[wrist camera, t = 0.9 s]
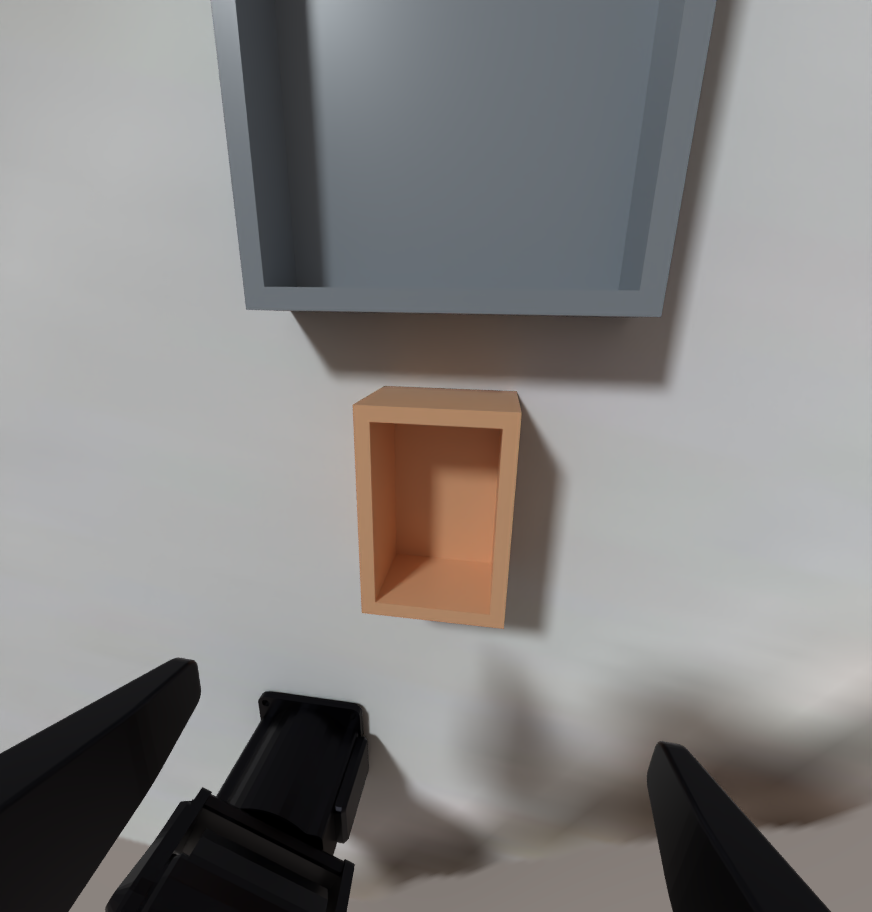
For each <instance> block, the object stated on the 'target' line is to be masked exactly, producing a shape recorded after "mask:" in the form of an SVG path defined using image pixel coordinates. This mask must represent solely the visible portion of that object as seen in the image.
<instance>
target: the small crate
mask: <svg viewBox="0 0 872 912" xmlns="http://www.w3.org/2000/svg"><path fill="white" fill-rule="evenodd" d="M521 414H522V412H521V408H520V404H519V400H518V395H517V391H494V390H470V389H445V388H421V387H396V386H384V387H382V388H380V389H379V390H377V391H375V392H374V393H372V394H370V395H368V396H367V397H365V398H363V399H362V400H360V401H358V402H357V403H355V404H353V423H354V446H355V469H356V491H357V514H358V537H359V560H360V582H361V605H362V613H367V614H376V615H385V616H394V617H403V618H412V619H421V620H430V621H439V622H448V623H457V624H465V625H474V626H483V627H492V628H501V629H504V620H505V608H506V595H507V583H508V571H509V559H510V547H511V535H512V523H513V511H514V499H515V487H516V475H517V463H518V451H519V439H520V427H521Z"/></svg>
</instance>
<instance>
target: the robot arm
mask: <svg viewBox="0 0 872 912" xmlns="http://www.w3.org/2000/svg"><path fill="white" fill-rule="evenodd" d="M200 695H201V686H200V679H199V672H198V665H197V663H196V662H195V661H194V660H190V659H185V658H174V659H171V660H169V661H168V662H166V663H164V664H162V665H160V666H159V667H157V668H155V669H153V670H151V671H149V672H148V673H146V674H144V675H142V676H140V677H139V678H137V679H135V680H133V681H131V682H129V683H128V684H126V685H124V686H122V687H120V688H119V689H117V690H115V691H113V692H111V693H109V694H108V695H106V696H104V697H102V698H100V699H99V700H97V701H95V702H93V703H91V704H89V705H88V706H86V707H84V708H82V709H80V710H79V711H77V712H75V713H73V714H71V715H69V716H68V717H66V718H64V719H62V720H60V721H59V722H57V723H55V724H53V725H51V726H49V727H48V728H46V729H44V730H42V731H40V732H39V733H37V734H35V735H33V736H31V737H30V738H28V739H26V740H24V741H22V742H20V743H19V744H17V745H15V746H13V747H11V748H10V749H8V750H6V751H4V752H2V753H0V912H68V911H69V910H70V908H71V907H72V905H73V904H74V902H75V901H76V899H77V898H78V896H79V895H80V893H81V892H82V890H83V889H84V887H85V886H86V884H87V883H88V881H89V880H90V878H91V877H92V875H93V874H94V872H95V871H96V869H97V868H98V866H99V865H100V863H101V862H102V860H103V859H104V857H105V856H106V854H107V853H108V851H109V850H110V848H111V847H112V845H113V844H114V842H115V841H116V839H117V838H118V836H119V835H120V833H121V832H122V830H123V829H124V827H125V826H126V824H127V823H128V821H129V820H130V818H131V817H132V815H133V814H134V812H135V811H136V809H137V808H138V806H139V805H140V803H141V802H142V800H143V799H144V797H145V796H146V794H147V792H148V791H149V789H150V788H151V786H152V784H153V783H154V781H155V779H156V778H157V776H158V774H159V773H160V771H161V769H162V767H163V765H164V764H165V762H166V760H167V758H168V756H169V755H170V753H171V751H172V749H173V747H174V746H175V744H176V742H177V740H178V738H179V737H180V735H181V733H182V731H183V729H184V728H185V726H186V724H187V722H188V720H189V719H190V717H191V715H192V713H193V711H194V710H195V708H196V706H197V704H198V702H199V699H200ZM258 703H259V710H260V717H261V721H260V723H259V725H258V727H257V728H256V730H255V732H254V733H253V735H252V737H251V738H250V740H249V742H248V743H247V745H246V747H245V749H244V750H243V752H242V754H241V755H240V757H239V759H238V760H237V762H236V764H235V765H234V767H233V769H232V771H231V772H230V774H229V776H228V777H227V779H226V781H225V782H224V784H223V786H222V787H221V789H220V791H219V792H218V794H217V796H214V795H212V794H211V793H212V792H211V791H209V790H207V789H205V788H203V787H202V789H201V790H200V792H199V793H198V795H197V796H196V797H195V799H194V800H193V799H192V801H183V802H180V803H179V805H178V806H177V808H176V809H175V811H174V812H173V814H172V815H171V817H170V818H169V820H168V821H167V823H166V825H165V826H164V828H163V829H162V830H161V832H160V833H159V835H158V836H157V838H156V839H155V841H154V842H153V843H152V845H151V846H150V847H149V848H148V850H147V851H146V852H145V854H144V855H143V856H142V858H141V859H140V860H139V861H138V863H137V864H136V865H135V867H134V868H133V869H132V870H131V872H130V873H129V874H128V875H127V877H126V878H125V879H124V881H123V882H122V883H121V885H120V886H119V887H118V888H117V890H116V891H115V892H114V894H113V896H112V897H111V899H110V900H109V902H108V904H107V906H106V908H105V912H347V906H348V900H349V895H350V889H351V883H352V878H353V872H354V866H355V864H354V863H352V862H350V861H348V860H346V859H345V860H344V861H343V860H341V859H339V858H337V857H335V856H333V854H334V851H335V848H336V844H337V842H338V843H345V842H346V841H347V840H348V839H349V835H350V832H351V829H352V825H353V822H354V818H355V815H356V811H357V808H358V804H359V801H360V797H361V794H362V791H363V787H364V784H365V780H366V777H367V773H368V770H369V763H368V741H367V739H366V738H365V737H364V736H363V720H362V709H361V707H360V706H358V705H357V704H353V703H346V702H339V701H332V700H325V699H318V698H311V697H304V696H297V695H289V694H282V693H275V692H264V693H263V694H262V695H261V697H260V698H259V701H258ZM647 787H648V792H649V797H650V803H651V808H652V813H653V818H654V823H655V828H656V834H657V839H658V844H659V849H660V854H661V859H662V865H663V870H664V875H665V879H666V884H667V889H668V894H669V898H670V902H671V906H672V910H673V912H831V911H830V910H829V909H828V908H827V907H826V905H825V904H824V903H823V902H822V901H821V900H820V899H819V898H818V897H817V895H816V894H815V893H814V892H813V891H812V890H811V889H810V887H809V886H808V885H807V884H806V883H805V882H804V881H803V880H802V878H801V877H800V876H799V875H798V874H797V873H796V872H795V871H794V869H793V868H792V867H791V866H790V865H789V864H788V863H787V861H786V860H785V859H784V858H783V857H782V856H781V855H780V854H779V852H777V850H776V849H775V848H774V847H773V846H772V845H771V843H770V842H769V841H768V840H767V839H766V838H765V837H764V835H763V834H762V833H761V832H760V831H759V830H758V829H757V828H756V826H755V825H754V824H753V823H752V822H751V821H750V820H749V819H748V817H747V816H746V815H745V814H744V813H743V812H742V811H741V810H740V808H739V807H738V806H737V805H736V804H735V803H734V802H733V801H732V799H731V798H730V797H729V796H728V795H727V794H726V793H725V791H724V790H723V789H722V788H721V787H720V786H719V785H718V784H717V782H716V781H715V780H714V779H713V778H712V777H711V776H710V775H709V773H708V772H707V771H706V770H705V769H704V768H703V767H702V766H701V764H700V763H699V762H698V761H697V760H696V759H695V758H694V756H693V755H692V754H691V753H690V752H689V751H688V750H687V749H686V748H685V747H684V746H682V745H680V744H675V743H669V742H664V741H660V742H658V743H657V744H656V746H655V749H654V753H653V756H652V759H651V762H650V765H649V769H648V772H647Z"/></svg>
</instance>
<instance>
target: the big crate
mask: <svg viewBox="0 0 872 912" xmlns="http://www.w3.org/2000/svg"><path fill="white" fill-rule="evenodd" d="M716 1H717V0H211V8H212V17H213V25H214V34H215V43H216V51H217V60H218V69H219V77H220V86H221V95H222V103H223V112H224V121H225V129H226V138H227V147H228V155H229V164H230V173H231V181H232V190H233V199H234V208H235V216H236V225H237V234H238V242H239V251H240V260H241V268H242V277H243V286H244V294H245V303H246V310H274V311H314V312H370V313H425V314H480V315H536V316H591V317H661V315H662V309H663V304H664V298H665V292H666V286H667V281H668V275H669V269H670V264H671V258H672V252H673V247H674V241H675V235H676V229H677V224H678V218H679V212H680V207H681V201H682V195H683V189H684V184H685V178H686V172H687V167H688V161H689V155H690V149H691V144H692V138H693V132H694V127H695V121H696V115H697V110H698V104H699V98H700V92H701V87H702V81H703V75H704V70H705V64H706V58H707V52H708V47H709V41H710V35H711V30H712V24H713V18H714V12H715V7H716Z"/></svg>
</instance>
